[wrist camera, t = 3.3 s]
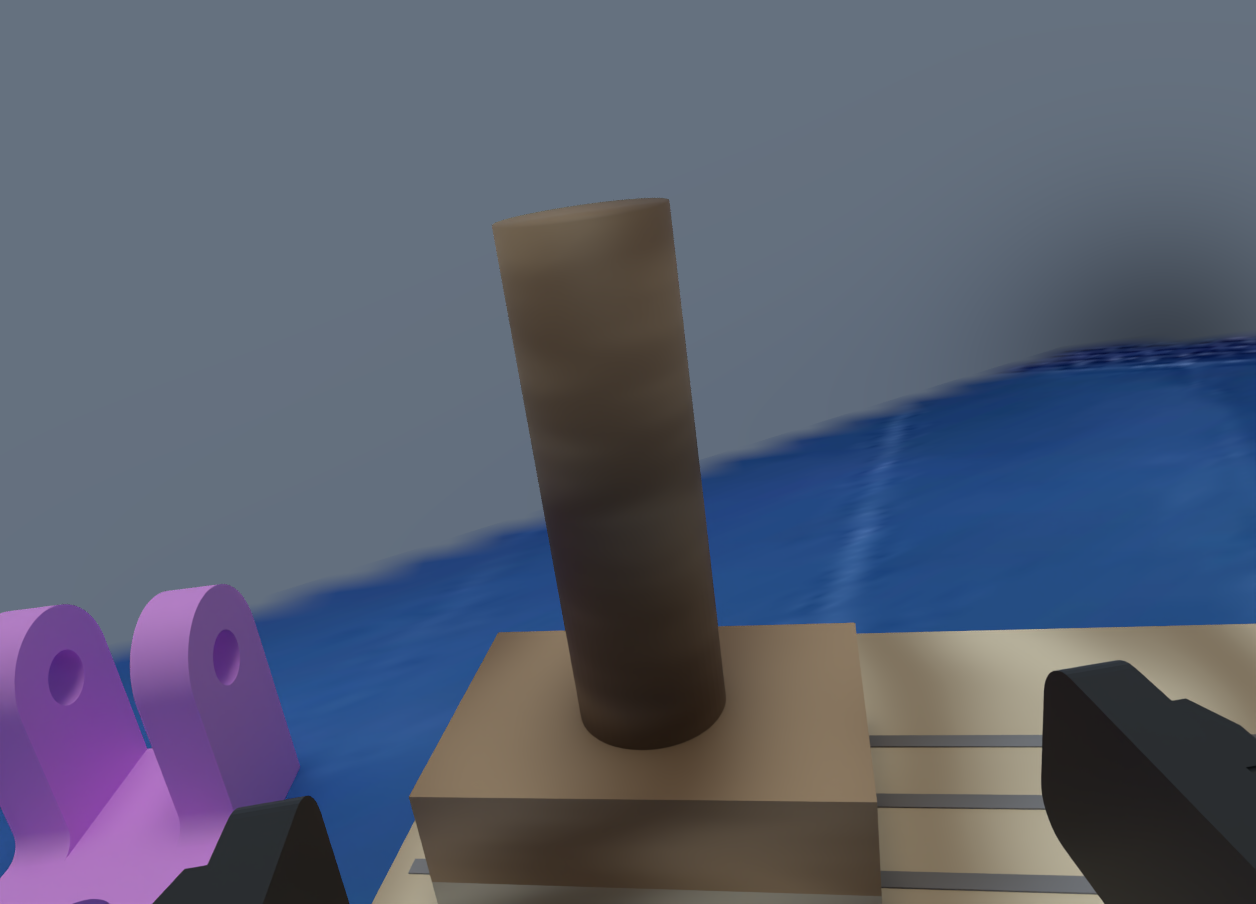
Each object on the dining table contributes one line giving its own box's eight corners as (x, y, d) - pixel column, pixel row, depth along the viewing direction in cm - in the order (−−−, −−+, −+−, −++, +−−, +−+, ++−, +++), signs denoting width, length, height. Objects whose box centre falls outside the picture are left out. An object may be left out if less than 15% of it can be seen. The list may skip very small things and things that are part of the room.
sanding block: (438, 904, 19) (266, 268, 14) (517, 721, 24) (411, 220, 20) (882, 920, 17) (848, 198, 13) (859, 719, 23) (830, 167, 18)
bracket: (115, 793, 27) (31, 585, 24) (301, 770, 26) (235, 559, 24) (-304, 1362, 14) (-557, 1055, 12) (36, 1326, 14) (-152, 1007, 12)
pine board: (296, 1151, 16) (272, 1091, 16) (515, 682, 29) (506, 641, 28) (1839, 1304, 12) (1881, 1228, 11) (1288, 670, 24) (1295, 621, 24)
